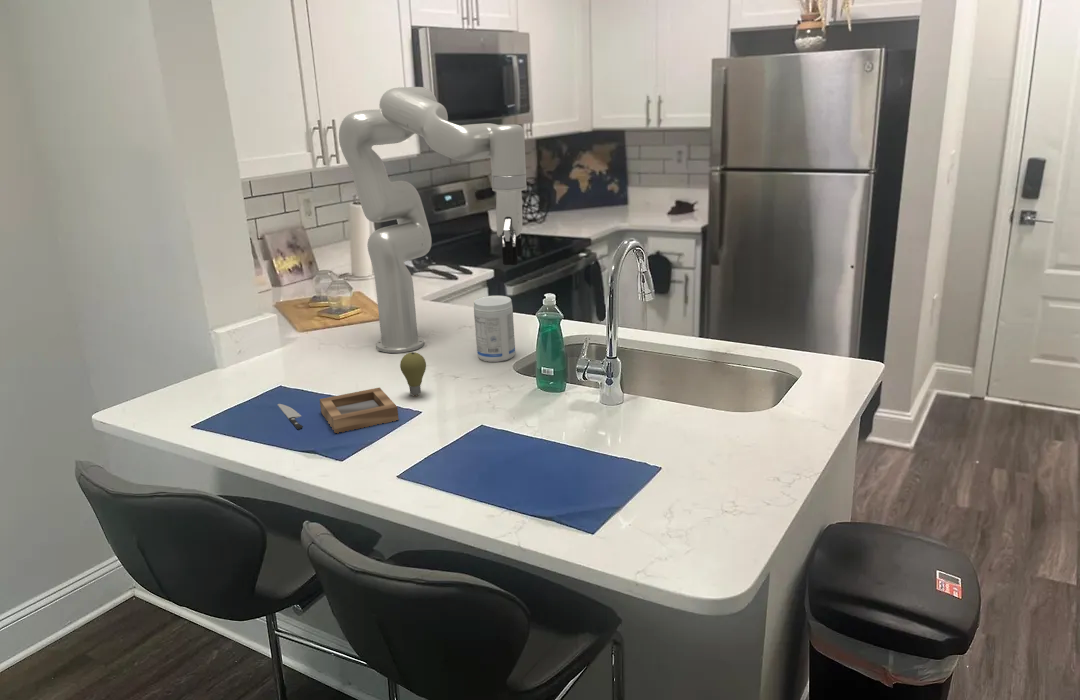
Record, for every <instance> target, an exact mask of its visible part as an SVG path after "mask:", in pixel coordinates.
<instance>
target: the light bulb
mask: <svg viewBox="0 0 1080 700" xmlns="http://www.w3.org/2000/svg"><path fill="white" fill-rule="evenodd" d="M399 367H400V371H401V373H402V374H403V377H404V378H405V380H406V383H407V385H408V386H409V387H408V388H409V394H410V395H411V396H413V397H418V396H419V395H420V394H421V393H422V390H421V386H422V382H423V377H424V374H425V372H426V368H427V362H426V360H425V357H424V356H423V355H422V354H420V353H419V352H416V351H415V352H414V351H410V352H408V353H406V354H405V355H404V356H403V357H402V358H401V360H400V364H399Z"/></svg>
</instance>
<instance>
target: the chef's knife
mask: <svg viewBox="0 0 1080 700" xmlns="http://www.w3.org/2000/svg"><path fill="white" fill-rule="evenodd" d="M276 405H277V406H278V408H279V409H280V411H282V413H283V414H284V416H285V417H286V418H287V419H288V420H289V421H290V422H291V423H292V425H293V426H294V427H295V428H296V429H297V430H299V429H300V430H302V429H303V427H304V426H303V425H302V424H300V423H299V422H298V421H297V420H296V419H298V418H300V417H302V415H301V414H300V413H299V412H298V411H296V410H295V409H293V408H292V407H290V406H289V405H285V404H283V403H282V404H281V403H278V404H276ZM301 428H302V429H301Z"/></svg>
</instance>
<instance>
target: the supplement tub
mask: <svg viewBox="0 0 1080 700" xmlns="http://www.w3.org/2000/svg"><path fill="white" fill-rule="evenodd" d="M473 317H474V328H475V330H474V331H475V342H476V353H477V354H476V355H477V357H478V358H479V360H481V361H483V362H487V361H488V362H489V363H497V362H499V363H500V362H505V361H508V360H510V359H512V358H513V357H515V355H516V344H515V343H516V341H515V328H514V327H515V326H514V325H515V324H514V311H513V302H512V299H511V297H509V296H505V295H486V296H483V297H477V298H476V299H475V300H474V301H473Z"/></svg>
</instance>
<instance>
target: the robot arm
mask: <svg viewBox="0 0 1080 700" xmlns="http://www.w3.org/2000/svg"><path fill="white" fill-rule="evenodd" d="M414 135H417V136H420V137H422V138H423V139H424V141H425V143H426V144H427V145H428V147H429V149H431V150H433V152H435V153H438V154H440V155H442V156H444V157H446V158H449V159H452V160H454V161H458V162H459V161H460V162H466V161H468V162H469V161H474V160H476V161H477V160H483V159H490V169H491V171H490V172H491V189H492V190H491V191H493V192H496V198H495V199H496V203H495V205H496V206H495V207H496V209H495V210H496V236H497V237H498V238H501V236H502V248H501V250H502V253H501V254H502V265H504V266H516V265H517V264H519V263H518V262H519V261H518V256H519V257H521V256H522V255H523V243H522V242H523V241H522V236H521V235H522V233H521V232H522V231H523V197H522V195H523V194H522V191H526V190H527V169H526V168H527V167H526V166H527V165H526V146H525V145H526V143H525V141H526V140H525V130H524V127H522V125H520V124H516V123H515V124H514V123H513V124H496V123H490V122H489V123H472V124H470V123H469V124H462V125H461V124H456V123H453V122H451V121H449V117H448V112H447V108H446V107H445V105H443V104H442V103H440V102H438V100H437V97H436V96H435V94H434V93H433V92H432V91H431V90H430V89H428V88H425V87H422V86H409V87H407V86H404V87H403V86H402V87H401V86H399V87H394V88H390V89H388V90H386V91H385V92H384V93H383V94H382V96H381V97H380V100H379V109H378V108H377V109H364V110H362V109H361V110H358V111H354V112H351V113H348V114H347V115H346V116H345V117H344V118H343V120H342V121H341V123H340V126H339V130H338V142H339V147H340V150H341V152H342V155H343V158H344V160H345V161H346V163H347V166H348V168H349V170H350V173H351V175H352V180H353V182H354V185H355V189H356V193H357V196H358V199H359V202H360V206H361V209H362V211H363V215H364V217H365V218H366V219H367V220H368V221H369V222H372V223H385V222H389V221H395V220H397V223H398V224H392V225H389V226H384V227H381V228H378V229H376V230H374V231H373V232H372V233H371V234H370V235H369V236H368V240H367V251H368V256H369V259H370V261H371V265H372V270H373V276H374V282H375V283H374V284H375V291H376V293H375V294H376V300H377V301H376V302H377V311H378V312H377V313H378V321H379V322H378V323H379V331H380V339H379V340H378V341H376V343H375V348H376V350H377V351H379V352H382V353H390V354H396V353H397V354H399V353H406V352H408V353H409V352H414V351H416V350H419V349H421V348H423V346H424V345H425V340H424V338H423V337H421V336H419V335H418V334H419V333H418V324H417V323H418V322H417V313H416V311H417V310H416V303H415V302H416V300H415V291H414V281H413V276H412V274H411V272H410V270H409V269H408V267H407V266H406V264H405V262H408V261H412V260H415V259H418V258H421V257H424V256H426V255H427V254H428V253H429V252H430V251H431V248H432V234H431V230H430V227H429V223H428V220H427V219H428V218H427V215H426V212H425V210H424V205H423V202H422V198H421V196H420V194H419V192H418V190H417V188H416V187H415V186H414V185H413V184H412V183H410V182H409V181H405V180H396V181H395V180H394V181H391V180H390V177H389V175H388V172H387V168H386V166H385V164H384V162H383V159H381V157H380V155H379V154H378V153H377V152H376V151H375V150H374V149H373V146H383V145H391V144H392V145H393V144H399V143H402V142H404V141H406V140H408V139H409V138H411V137H412V136H414Z"/></svg>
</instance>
